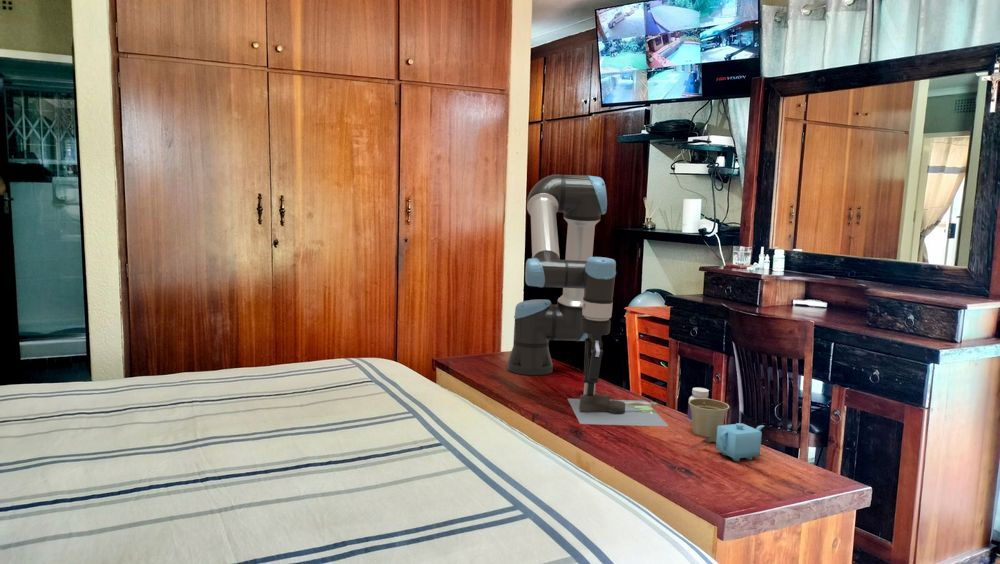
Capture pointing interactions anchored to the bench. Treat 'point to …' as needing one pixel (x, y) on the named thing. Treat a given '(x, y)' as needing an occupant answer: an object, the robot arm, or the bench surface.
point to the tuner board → (619, 415)
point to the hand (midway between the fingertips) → (588, 405)
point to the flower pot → (707, 417)
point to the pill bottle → (696, 394)
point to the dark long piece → (606, 404)
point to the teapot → (739, 441)
